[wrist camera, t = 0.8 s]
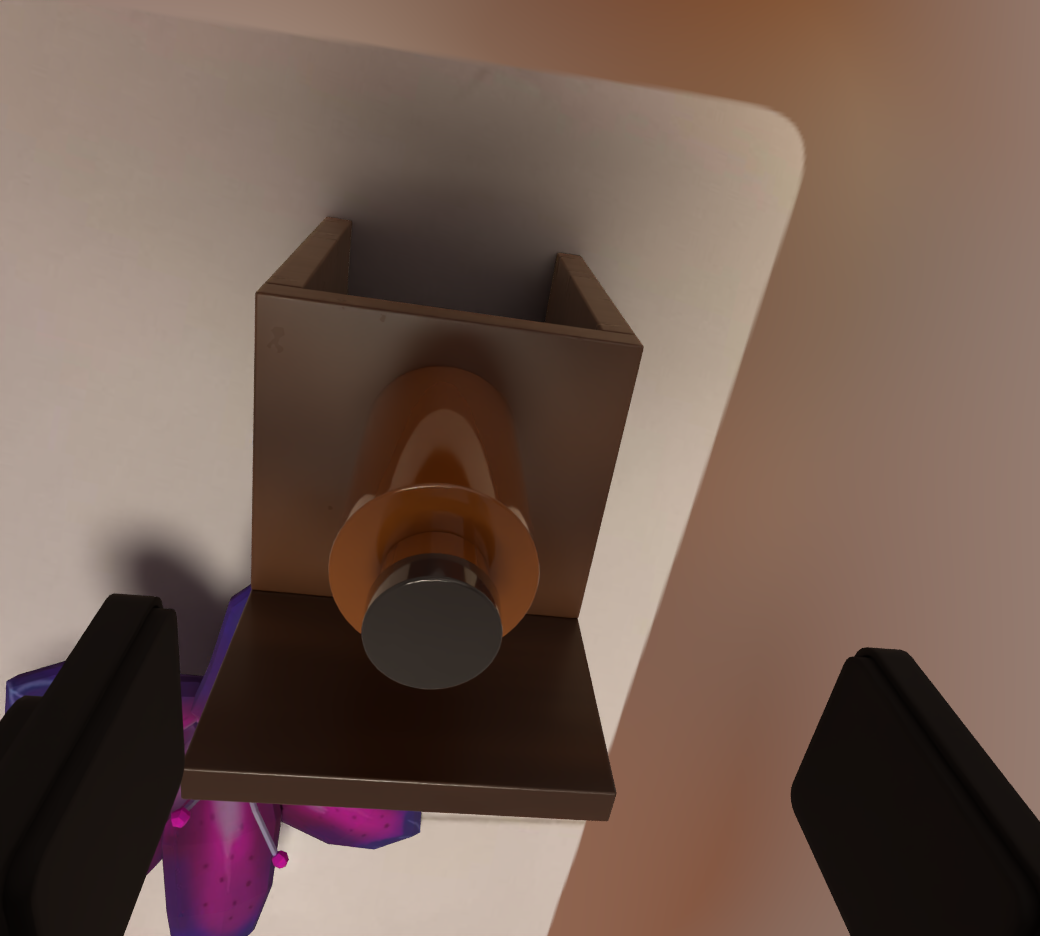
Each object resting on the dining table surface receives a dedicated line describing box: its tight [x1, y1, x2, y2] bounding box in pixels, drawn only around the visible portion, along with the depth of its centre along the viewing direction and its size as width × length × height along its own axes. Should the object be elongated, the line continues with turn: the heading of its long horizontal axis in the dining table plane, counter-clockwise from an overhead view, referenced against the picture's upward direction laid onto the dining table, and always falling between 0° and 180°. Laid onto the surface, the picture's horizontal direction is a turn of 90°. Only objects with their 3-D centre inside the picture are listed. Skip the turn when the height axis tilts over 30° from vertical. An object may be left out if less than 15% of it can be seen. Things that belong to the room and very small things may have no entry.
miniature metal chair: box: [181, 217, 644, 821], centre depth 29 cm, size 12×12×22 cm
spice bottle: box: [328, 366, 540, 689], centre depth 21 cm, size 5×5×10 cm
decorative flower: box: [5, 584, 421, 936], centre depth 43 cm, size 31×31×10 cm
